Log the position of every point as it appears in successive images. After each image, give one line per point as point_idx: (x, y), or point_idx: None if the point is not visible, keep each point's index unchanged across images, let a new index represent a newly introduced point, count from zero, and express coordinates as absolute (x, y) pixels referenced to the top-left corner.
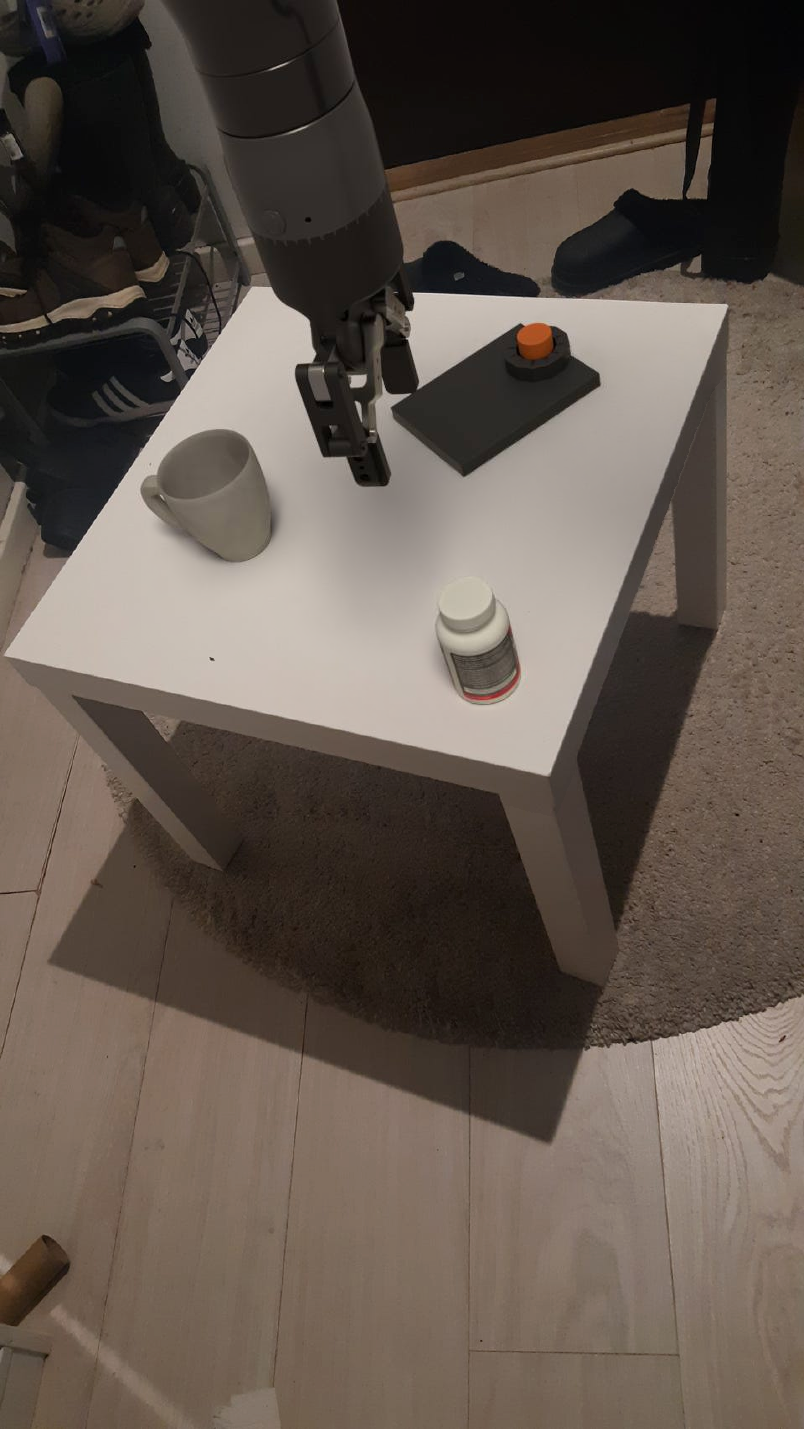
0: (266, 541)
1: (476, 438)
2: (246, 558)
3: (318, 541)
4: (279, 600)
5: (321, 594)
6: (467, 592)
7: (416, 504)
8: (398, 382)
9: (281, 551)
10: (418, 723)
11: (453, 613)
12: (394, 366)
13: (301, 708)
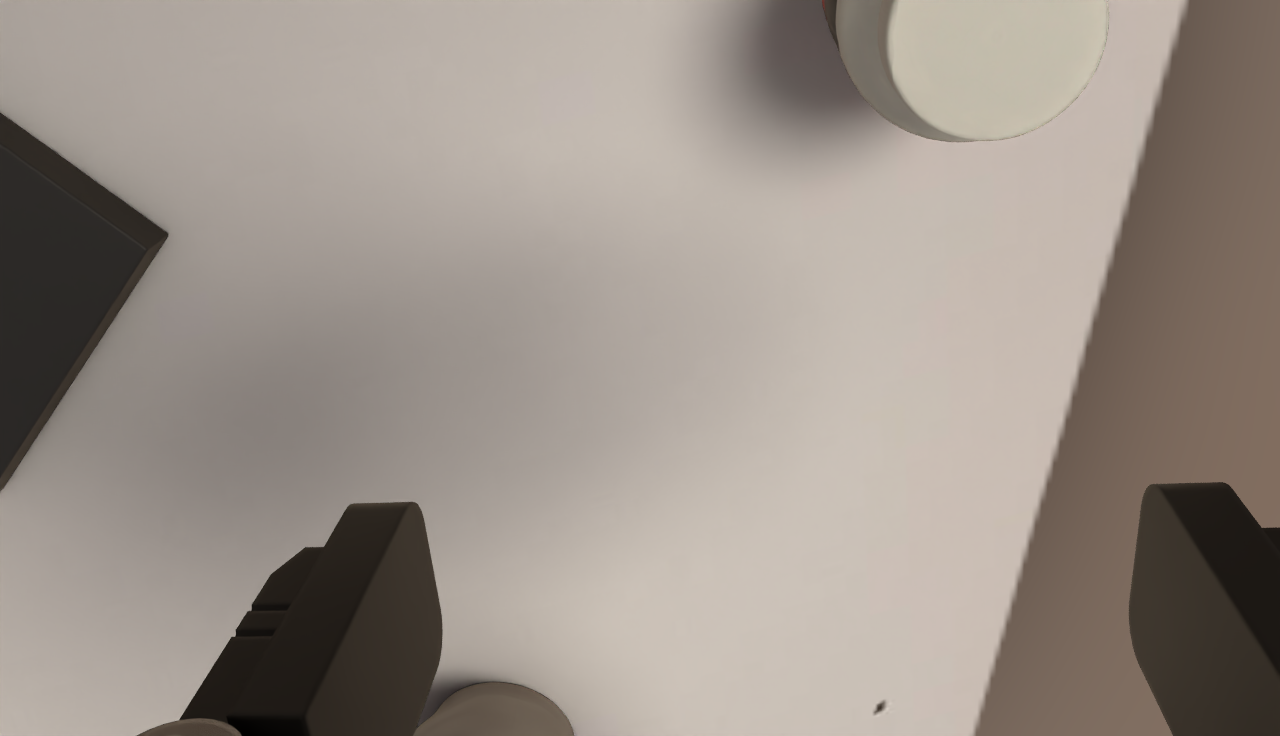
0: (507, 690)
1: (28, 229)
2: (564, 719)
3: (478, 567)
4: (684, 608)
5: (654, 513)
6: (974, 29)
7: (301, 346)
8: (410, 622)
9: (524, 645)
10: (1086, 141)
11: (1077, 59)
12: (379, 700)
13: (1031, 464)
